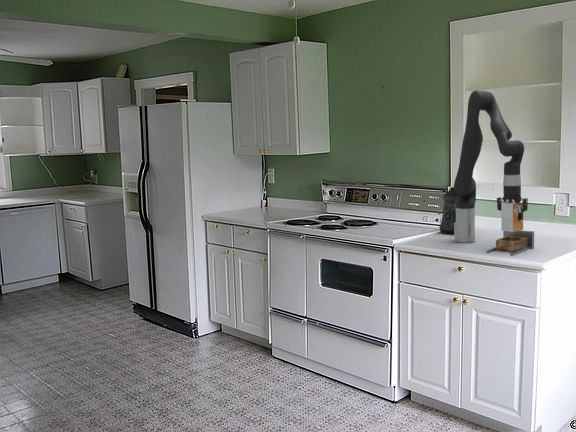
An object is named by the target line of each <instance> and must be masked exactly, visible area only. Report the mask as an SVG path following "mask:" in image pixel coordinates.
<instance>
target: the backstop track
mask: <svg viewBox="0 0 576 432" xmlns="http://www.w3.org/2000/svg"><path fill="white" fill-rule="evenodd" d="M502 235H503V237H506V236H513V237H524V238H528V247H525V248H523V249H520V250H518V251H515V252H509V253H510V254H509V255H510V256H509V257H514V256H517V255H519V254H521V253H523V252H526V251H528V250H533V249H535V231H532V230H524V229H523V230H519V231H514V232H509V231H503V233H502ZM503 237H502V238H503ZM495 251H496V246H495V247H493V248H490V249H487V250H486V252H485V253H486V254H490V253H492V252H495Z"/></svg>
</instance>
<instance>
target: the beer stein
mask: <svg viewBox="0 0 576 432" xmlns="http://www.w3.org/2000/svg"><path fill="white" fill-rule="evenodd" d="M457 197H458V194H457V193H456V191H455V189H454V186H453V187H450V189H449V190H448V191H447V192H445V193H444V194H443V196H442V199H443V208H442V209H443V210H442V216H441V221H440V224H439V228H438V229H439V231H440V232H439V233H440V234H442V235H446V236H447V235H448V236H454V223H455V222H456V201H457Z"/></svg>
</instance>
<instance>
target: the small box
mask: <svg viewBox="0 0 576 432" xmlns="http://www.w3.org/2000/svg"><path fill="white" fill-rule="evenodd" d="M517 205H518V206H522V209H523V203H522V201H521V202H520V203H505V202H502V203H501V211H500V213H501V221H500V222H501V231H509V232H514V231H519V230H523V231H524V218H523V219H522V220H521V221H519V220H518V213H519V211H518V209H517Z"/></svg>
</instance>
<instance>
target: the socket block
mask: <svg viewBox="0 0 576 432" xmlns="http://www.w3.org/2000/svg"><path fill="white" fill-rule="evenodd" d="M495 247H496V251H497V252H507V253H513V252H515V251H518V250H520V249H523V248H525V247H528V238H524V237H513V236H506V237H500V238H498V239H496V240H495Z"/></svg>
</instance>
